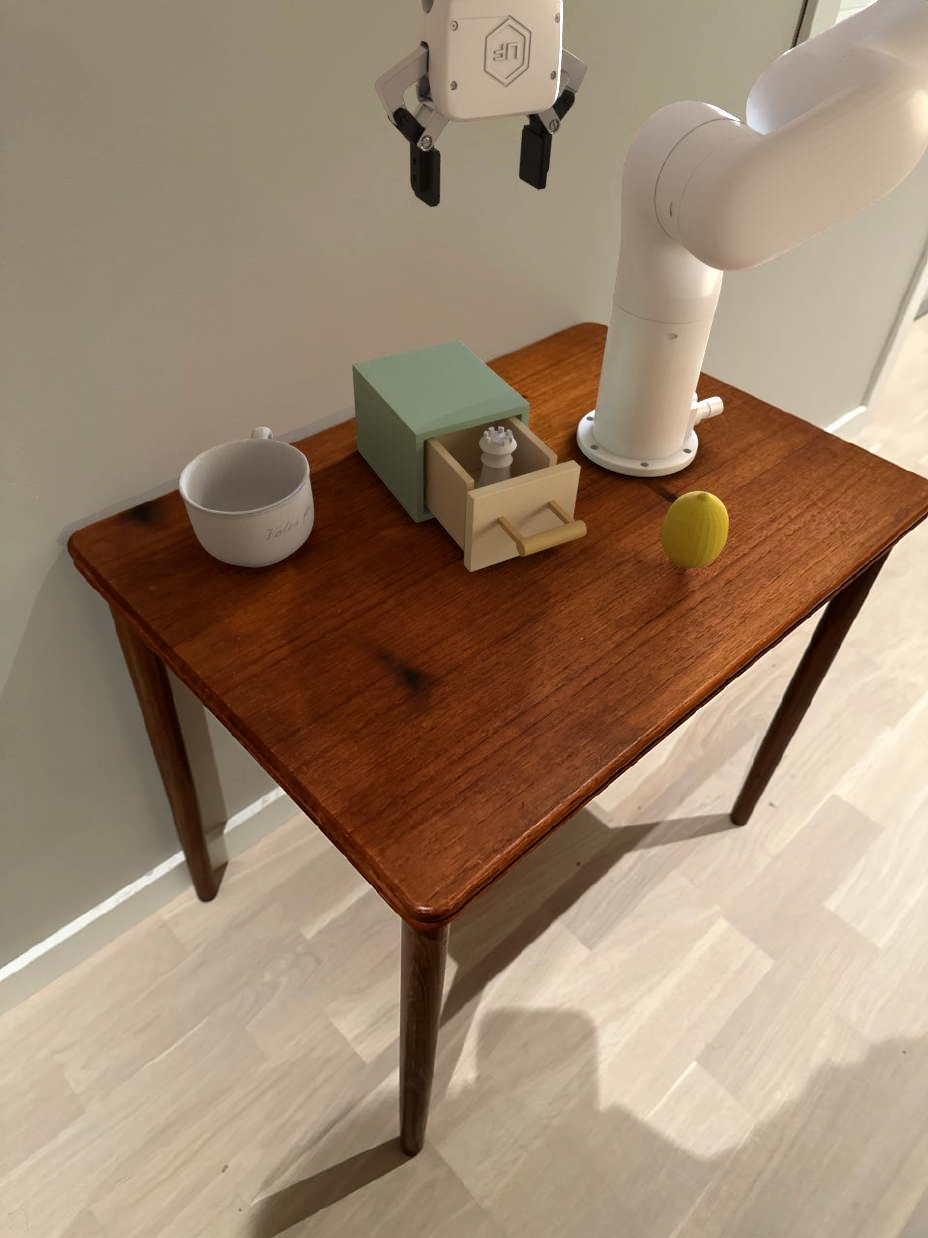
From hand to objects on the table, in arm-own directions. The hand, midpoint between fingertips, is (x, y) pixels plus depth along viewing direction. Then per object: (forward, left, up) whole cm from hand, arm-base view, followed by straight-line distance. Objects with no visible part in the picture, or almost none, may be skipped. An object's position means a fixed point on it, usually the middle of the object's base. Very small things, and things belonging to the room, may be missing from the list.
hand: (480, 192), depth 69 cm
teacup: (+22, +1, -26) cm, 34 cm away
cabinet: (+3, -1, -26) cm, 26 cm away
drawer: (+3, +11, -25) cm, 28 cm away
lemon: (-10, +22, -26) cm, 36 cm away
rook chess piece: (+3, +9, -24) cm, 26 cm away
